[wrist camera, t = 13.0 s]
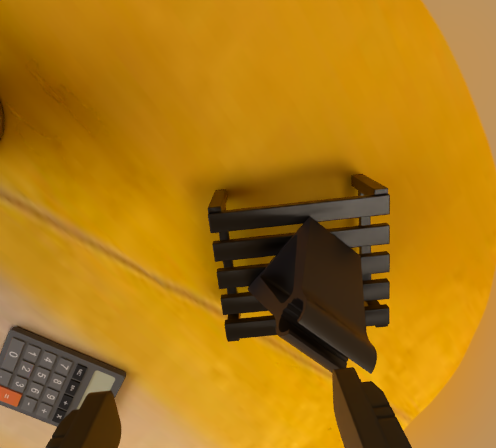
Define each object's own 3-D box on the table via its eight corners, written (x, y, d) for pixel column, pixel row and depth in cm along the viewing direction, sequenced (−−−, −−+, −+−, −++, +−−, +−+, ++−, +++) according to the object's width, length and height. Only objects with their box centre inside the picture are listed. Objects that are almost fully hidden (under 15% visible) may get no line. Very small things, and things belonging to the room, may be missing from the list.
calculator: (8, 329, 44) (124, 378, 46) (13, 325, 44) (127, 372, 46) (-18, 399, 47) (92, 441, 49) (-13, 394, 48) (95, 435, 50)
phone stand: (310, 215, 32) (344, 273, 21) (359, 254, 33) (418, 330, 22) (247, 287, 34) (246, 376, 23) (295, 322, 35) (318, 423, 24)
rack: (231, 303, 44) (227, 344, 36) (215, 190, 40) (207, 209, 32) (364, 290, 43) (389, 328, 35) (362, 173, 39) (390, 188, 31)
